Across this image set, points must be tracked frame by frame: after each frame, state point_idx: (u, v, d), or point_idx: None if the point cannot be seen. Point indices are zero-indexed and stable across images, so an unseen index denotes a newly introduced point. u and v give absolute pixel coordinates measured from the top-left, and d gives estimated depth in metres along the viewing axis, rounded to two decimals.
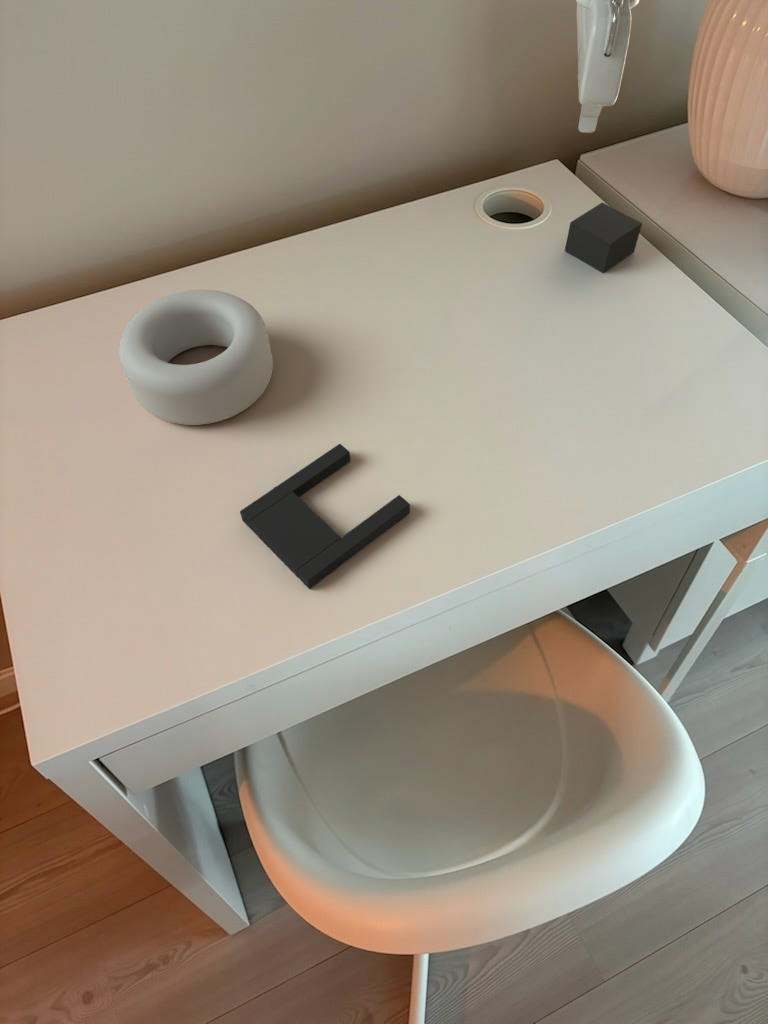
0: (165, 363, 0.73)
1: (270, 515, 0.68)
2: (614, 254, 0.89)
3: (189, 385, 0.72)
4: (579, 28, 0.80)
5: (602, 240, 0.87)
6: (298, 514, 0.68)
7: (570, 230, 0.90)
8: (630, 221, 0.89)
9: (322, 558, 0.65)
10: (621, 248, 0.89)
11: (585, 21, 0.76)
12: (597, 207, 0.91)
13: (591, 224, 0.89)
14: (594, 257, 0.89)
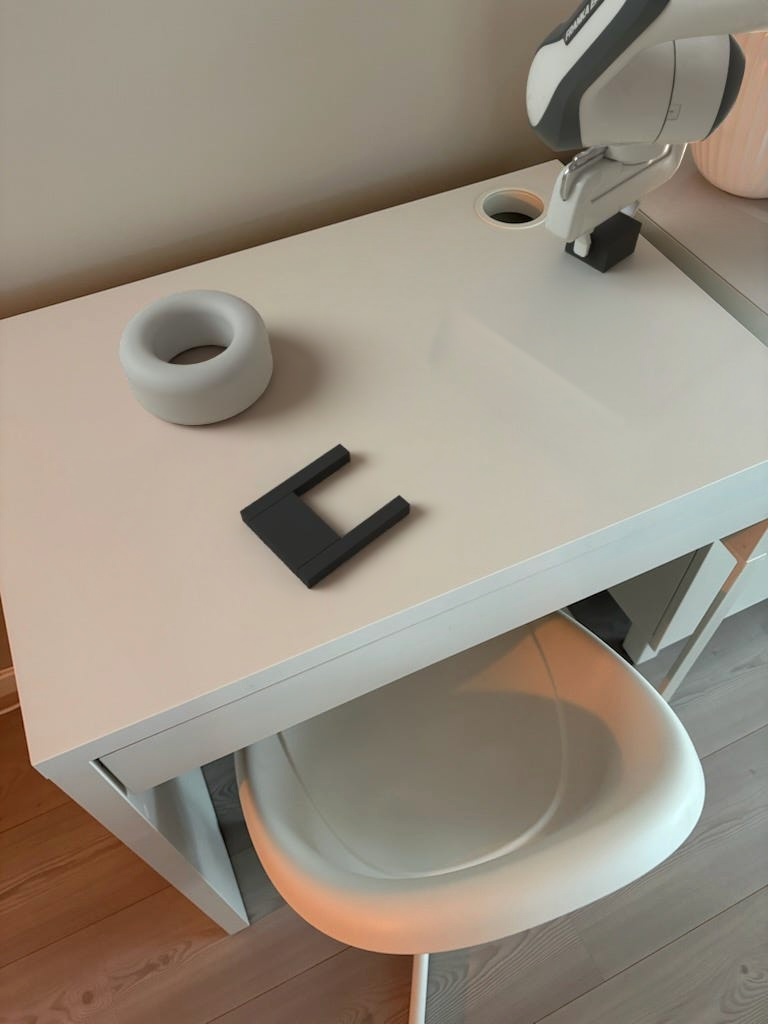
0: (165, 363, 0.73)
1: (270, 515, 0.68)
2: (614, 254, 0.89)
3: (189, 385, 0.72)
4: None
5: (602, 240, 0.87)
6: (298, 514, 0.68)
7: None
8: (630, 221, 0.89)
9: (322, 558, 0.65)
10: (621, 248, 0.89)
11: None
12: None
13: None
14: (594, 257, 0.89)
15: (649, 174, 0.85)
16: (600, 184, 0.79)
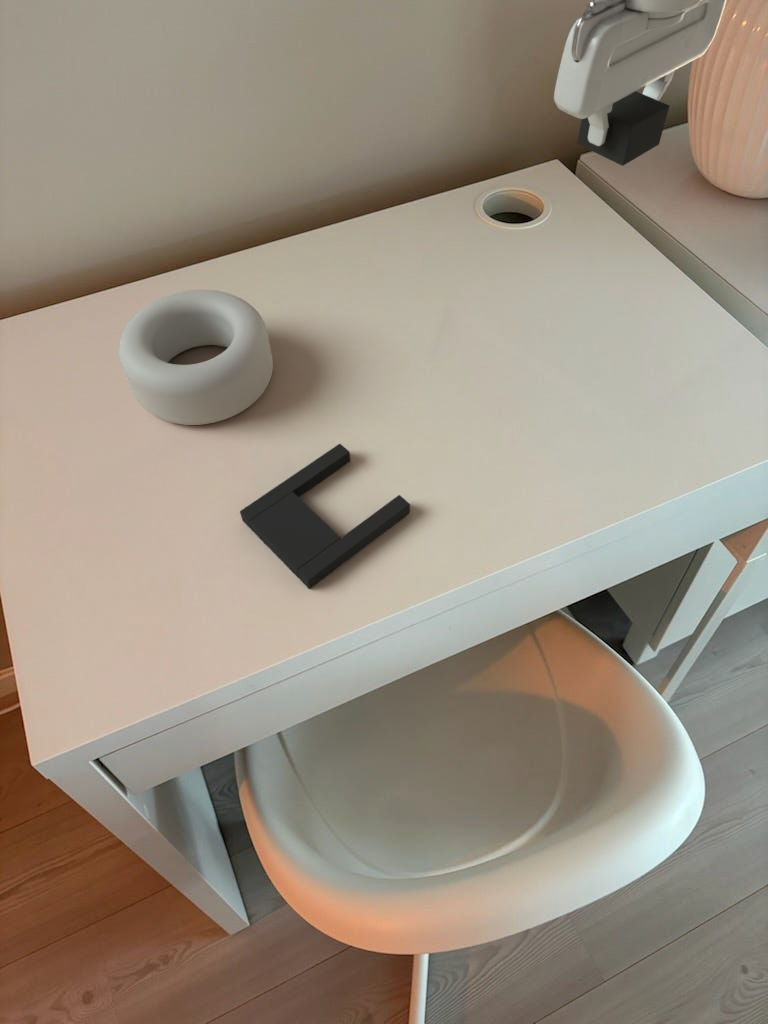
0: (165, 363, 0.73)
1: (270, 515, 0.68)
2: (636, 142, 0.75)
3: (189, 385, 0.72)
4: None
5: (621, 123, 0.73)
6: (298, 514, 0.68)
7: None
8: (655, 103, 0.75)
9: (322, 558, 0.65)
10: (645, 136, 0.75)
11: None
12: None
13: None
14: (612, 147, 0.75)
15: (678, 41, 0.71)
16: (621, 41, 0.65)
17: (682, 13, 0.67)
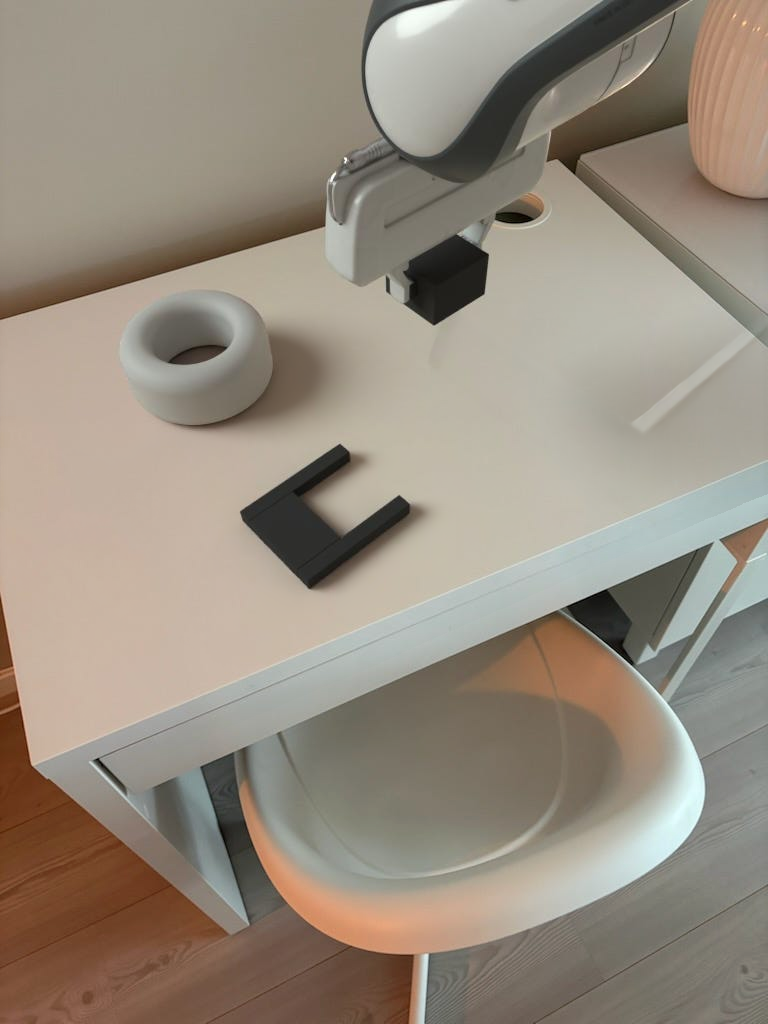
0: (165, 363, 0.73)
1: (270, 515, 0.68)
2: (448, 300, 0.60)
3: (189, 385, 0.72)
4: None
5: (425, 280, 0.59)
6: (298, 514, 0.68)
7: None
8: (472, 251, 0.61)
9: (322, 558, 0.65)
10: (459, 291, 0.61)
11: None
12: None
13: None
14: (420, 303, 0.61)
15: (490, 183, 0.57)
16: (395, 199, 0.51)
17: None
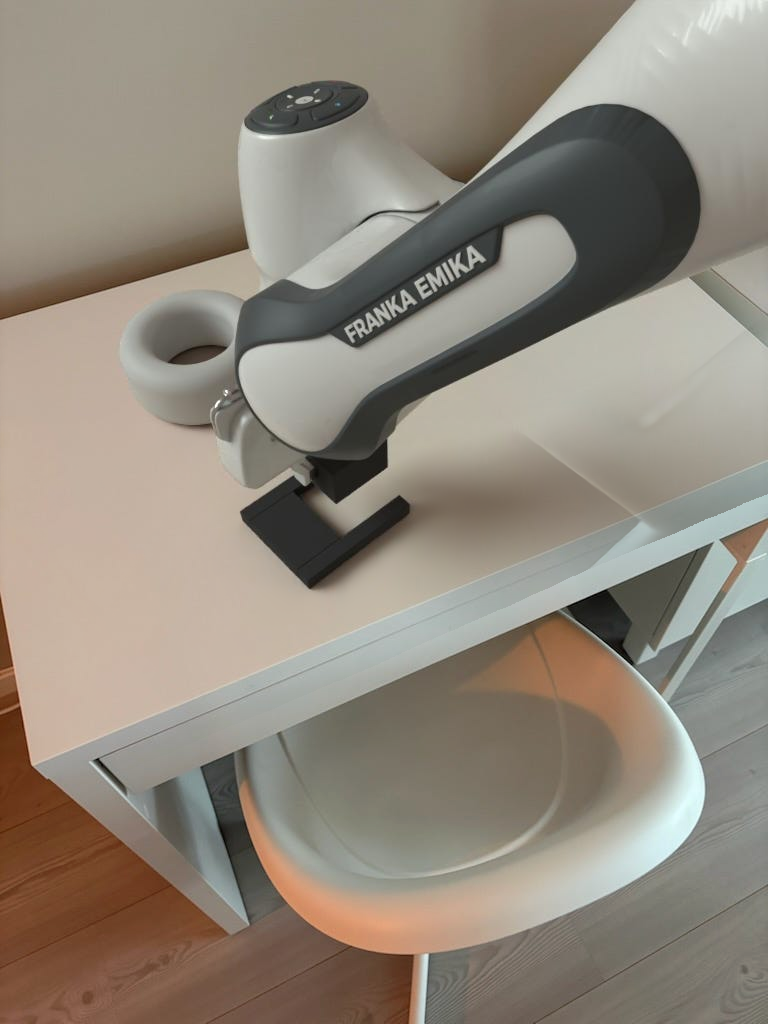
0: (165, 363, 0.73)
1: (270, 515, 0.68)
2: (347, 482, 0.62)
3: (189, 385, 0.72)
4: None
5: (323, 468, 0.61)
6: (298, 514, 0.68)
7: None
8: None
9: (322, 558, 0.65)
10: (359, 472, 0.63)
11: None
12: None
13: None
14: (322, 483, 0.63)
15: None
16: None
17: None
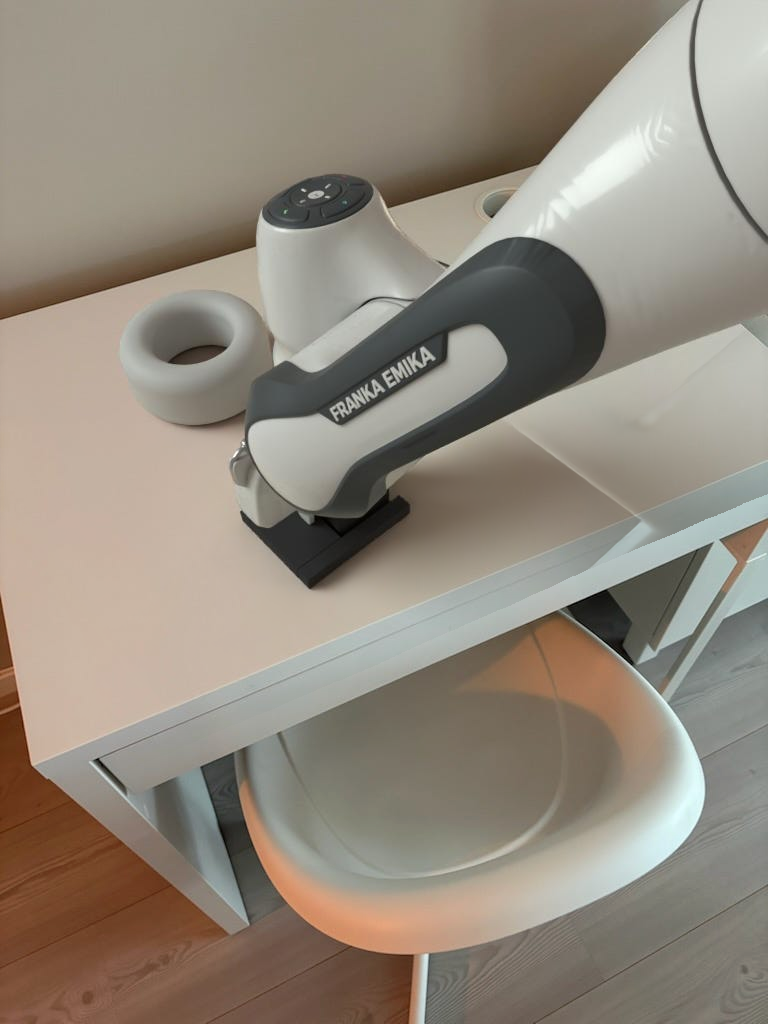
0: (165, 363, 0.73)
1: None
2: (352, 519, 0.67)
3: (189, 385, 0.72)
4: None
5: None
6: (298, 514, 0.68)
7: None
8: None
9: (322, 558, 0.65)
10: None
11: None
12: None
13: None
14: (328, 520, 0.68)
15: None
16: None
17: None
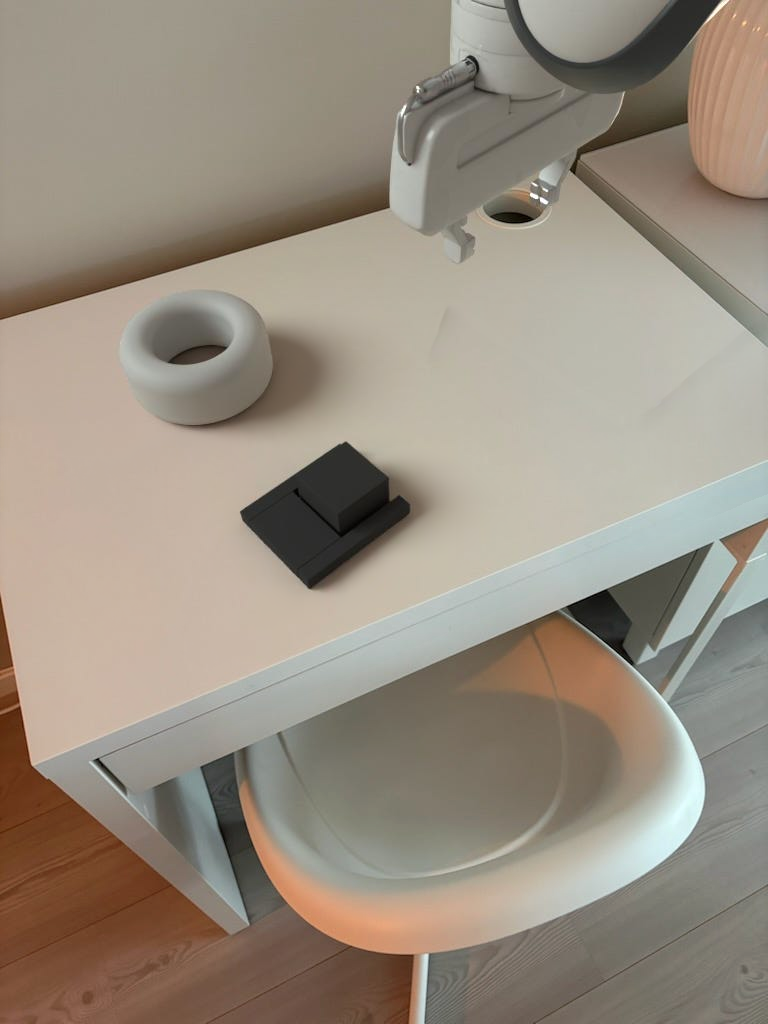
0: (165, 363, 0.73)
1: (270, 515, 0.68)
2: (352, 519, 0.67)
3: (189, 385, 0.72)
4: None
5: (329, 507, 0.65)
6: (298, 514, 0.68)
7: (298, 483, 0.68)
8: (373, 474, 0.67)
9: (322, 558, 0.65)
10: (363, 510, 0.67)
11: None
12: (337, 449, 0.69)
13: (321, 479, 0.67)
14: (328, 520, 0.68)
15: (566, 120, 0.52)
16: (470, 135, 0.46)
17: (560, 90, 0.47)
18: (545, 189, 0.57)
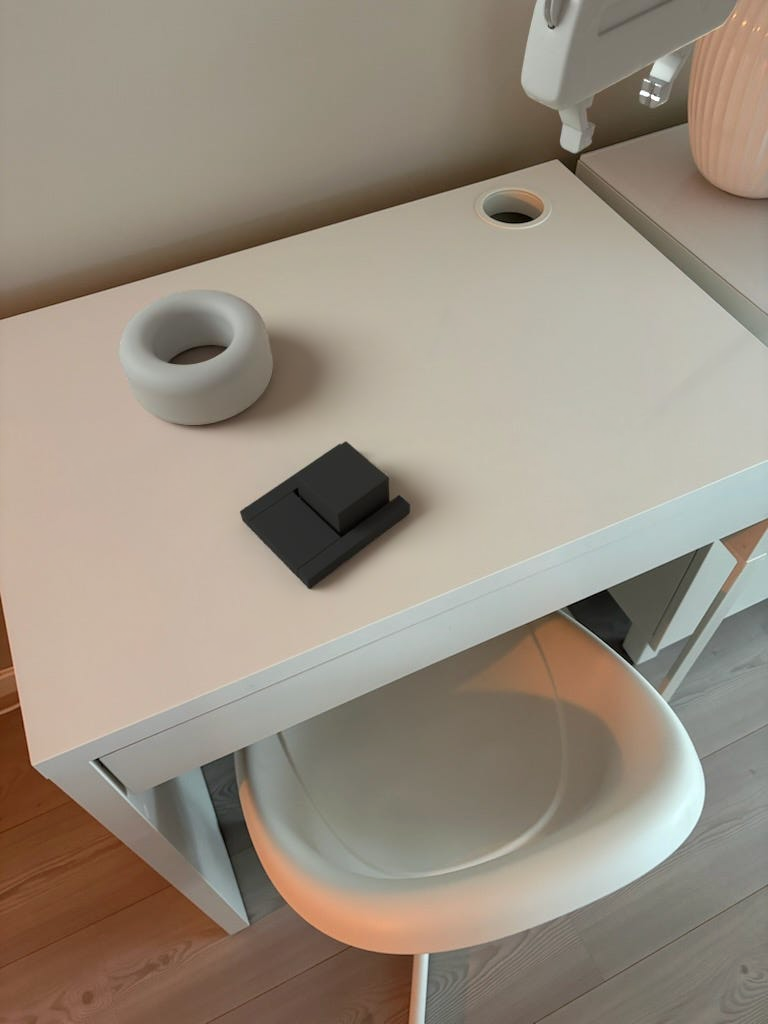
0: (165, 363, 0.73)
1: (270, 515, 0.68)
2: (352, 519, 0.67)
3: (189, 385, 0.72)
4: None
5: (329, 507, 0.65)
6: (298, 514, 0.68)
7: (298, 483, 0.68)
8: (373, 474, 0.67)
9: (322, 558, 0.65)
10: (363, 510, 0.67)
11: None
12: (337, 449, 0.69)
13: (321, 479, 0.67)
14: (328, 520, 0.68)
15: (693, 3, 0.51)
16: None
17: None
18: (658, 84, 0.57)
